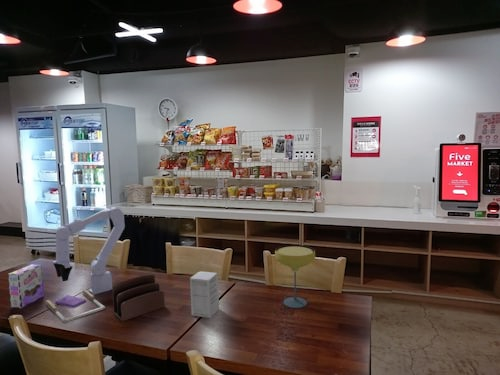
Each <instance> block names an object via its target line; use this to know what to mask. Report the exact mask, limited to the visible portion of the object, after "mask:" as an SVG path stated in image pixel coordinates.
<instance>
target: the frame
mask: <svg viewBox="0 0 500 375" xmlns="http://www.w3.org/2000/svg"><path fill="white" fill-rule="evenodd" d="M92 302H93V303H94V304H95V305H97V308H94V309H91V310H87V311H86V312H82V313H80V314H75V315H73V316H69V317H66V318H65V316H63V315H62V313H61V312H60V311H58V310H57V312H55V315H56V316H57V317H58V318H59V319H60V320H61V322H62V323H67V322H70V321H73V320H76V319H78V318H81V317H85V316H87V315H91V314H94V313H98V312H99V311H103V310H105V309H106V306H105V305H103V304H102V302H99V301H98V300H97V299H95V300H93V301H92Z"/></svg>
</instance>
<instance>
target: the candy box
mask: <svg viewBox="0 0 500 375" xmlns="http://www.w3.org/2000/svg"><path fill="white" fill-rule="evenodd" d="M7 278H8V288H9V299H10V300H9V302H10V308H14V309H23V308H25V307H26V306H28V305H30V304H32V303H34V302H35V301H38V300H39V299H41V298H43V297H45V292H44V291H45V290H44V280H43V271H42V264H35V263H33V264H29V265H27V266H24V267H22V268H20V269H16V270H14V271H12V272H10V273H9V272H8V273H7Z"/></svg>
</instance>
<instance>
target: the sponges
mask: <svg viewBox="0 0 500 375" xmlns="http://www.w3.org/2000/svg"><path fill="white" fill-rule="evenodd" d="M86 302H87V301H86V299H85V298H81V297H77V296H72V295H69V294H67V295H65V296H62V297H61V298H58V299H56V300H54V303H55V304H56V305H61V306H66V307H69V308H72V309H73V308H77V307H78V306H80V305H82V304H84V303H86Z"/></svg>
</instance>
